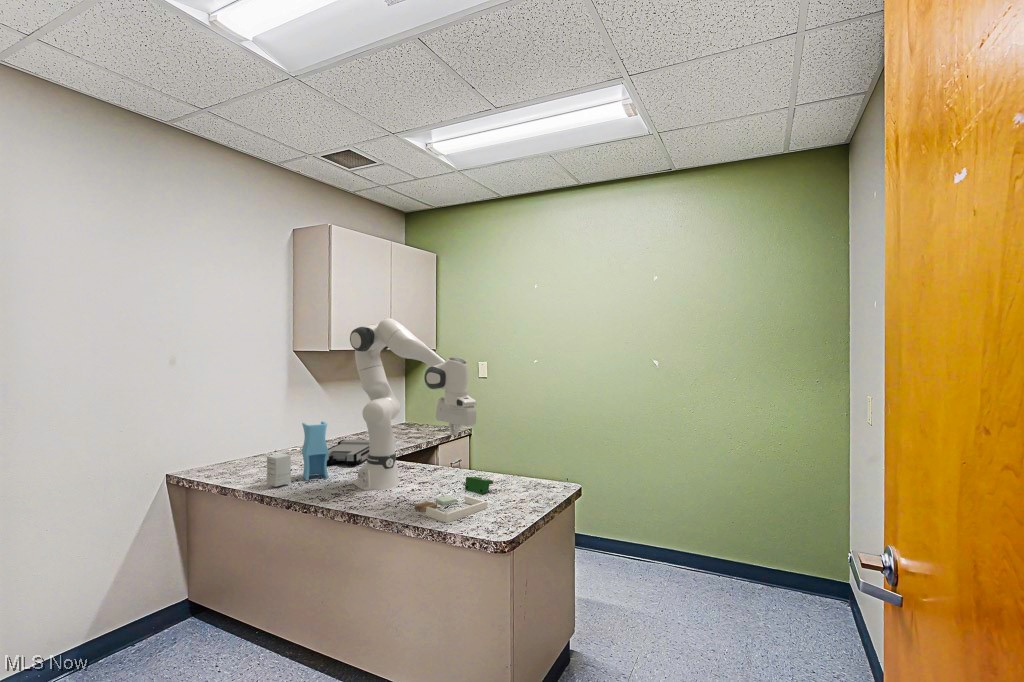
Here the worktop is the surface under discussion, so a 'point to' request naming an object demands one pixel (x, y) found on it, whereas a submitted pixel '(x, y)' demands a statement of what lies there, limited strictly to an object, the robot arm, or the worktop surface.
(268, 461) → the supplement box
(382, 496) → the worktop surface
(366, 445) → the game console
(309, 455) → the blue toy chair
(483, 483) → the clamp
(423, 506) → the walnut tile
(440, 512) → the white u-shaped frame
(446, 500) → the sage tile
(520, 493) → the worktop surface
